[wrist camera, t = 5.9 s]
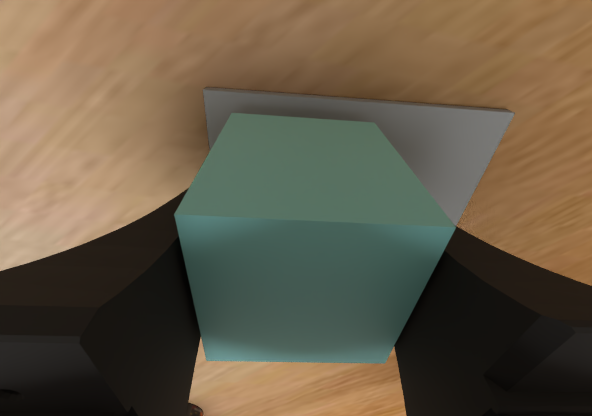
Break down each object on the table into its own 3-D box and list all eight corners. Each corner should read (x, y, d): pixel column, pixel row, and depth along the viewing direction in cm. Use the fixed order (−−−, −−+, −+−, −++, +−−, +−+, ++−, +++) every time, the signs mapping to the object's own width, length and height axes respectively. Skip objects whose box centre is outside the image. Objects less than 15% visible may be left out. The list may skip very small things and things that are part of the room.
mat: (507, 109, 12) (515, 112, 12) (413, 296, 20) (415, 302, 19) (205, 86, 11) (202, 89, 11) (227, 291, 19) (225, 297, 18)
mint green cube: (374, 122, 10) (456, 227, 5) (348, 230, 13) (385, 363, 8) (231, 112, 10) (173, 214, 5) (238, 225, 13) (206, 360, 8)
